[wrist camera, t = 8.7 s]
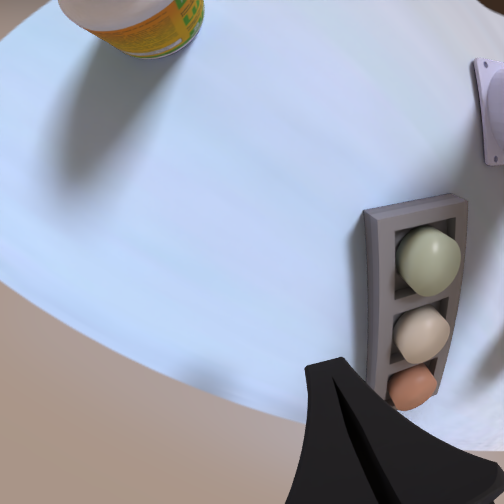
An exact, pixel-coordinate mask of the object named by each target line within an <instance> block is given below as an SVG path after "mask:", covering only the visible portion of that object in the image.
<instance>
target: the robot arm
mask: <svg viewBox="0 0 504 504" xmlns="http://www.w3.org/2000/svg"><path fill="white" fill-rule="evenodd" d="M483 63H484V65H483ZM484 66H485V67H484ZM474 67H475V73H476V78H477V84H478V91H479V98H480V105H481V114H482V124H483V136H484V153H485V162H486V164H487V165H489V166H496V165H504V62H500V61H495V60H490V59H484V58H475V59H474ZM494 157H495V159H494ZM304 369H305V376H306V383H307V391H308V409H307V421H306V429H305V436H304V441H303V446H302V451H301V456H300V460H299V464H298V467H297V471H296V474H295V477H294V481H293V483H292V487H291V490H290V492H289V495H288V497H287V500H286V502H285V504H495V503H494V500H495V499H496V498H497V497H498V496H499V495H500V494H501V493H503V492H504V471H503V470H502V469H501V467H500V466H499V465H498V464H497V463H496V462H493V461H489V460H487V459H483V458H480V457H478V456H475V455H472V454H470V453H467V452H465V451H462V450H460V449H458V448H456V447H454V446H452V445H450V444H448V443H446V442H444V441H442V440H440V439H438V438H436V437H434V436H432V435H431V434H429V433H428V432H426V431H424V430H423V429H421V428H420V427H418V426H417V425H415V424H414V423H412V422H411V421H409V420H408V419H407V418H405V417H404V416H403V415H401V414H400V413H399V412H398V411H396V410H395V409H394V408H393V407H391V406H390V405H389V404H388V403H387V402H386V401H384V400H383V399H382V398H381V397H380V396H379V395H378V394H377V393H376V392H375V391H374V390H373V389H372V388H371V387H370V386H369V385H368V384H367V383H366V382H365V381H364V380H363V379H362V378H361V377H360V376H359V375H358V374H357V373H356V372H355V371H354V369H353V368H352V367H351V366H350V365H349V363H348V362H347V361H346V360H345V358H343V357H339V358H335V359H331V360H327V361H323V362H319V363H315V364H311V365H307V366H306V367H305V368H304Z"/></svg>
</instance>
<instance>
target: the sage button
mask: <svg viewBox="0 0 504 504" xmlns="http://www.w3.org/2000/svg"><path fill="white" fill-rule="evenodd" d="M460 262H461V252H460V248H459V246H458V244H457V243H456V241H455V240H453V239H452V238H450V237H449V236H447V235H446V234H444V233H442V232H441V231H439V230H438V229H436V228H434V227H432V226H428V225H424V226H419V227H417V228H415V229H413V230H412V231H410V232H409V233H408V234H407V235H406V236H405V237H404V238H403V240H402V241H401V243H400V245H399V247H398V250H397V253H396V259H395V264H396V269H397V272H398V274H399V275H400V276H401V277H402V278H403V280H404V281H405V282H406V283H407V284H408V285H409V286H410V287H411V288H412V289H413V290H414V291H415V292H416V293H417V294H419V295H421V296H425V297H429V296H434V295H437V294H439V293H440V292H442V291H443V290H445V289H446V288H447V287H448V286H449V285H450V284H451V283H452V281H453V280H454V278H455V276H456V275H457V272H458V270H459V267H460Z"/></svg>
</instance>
